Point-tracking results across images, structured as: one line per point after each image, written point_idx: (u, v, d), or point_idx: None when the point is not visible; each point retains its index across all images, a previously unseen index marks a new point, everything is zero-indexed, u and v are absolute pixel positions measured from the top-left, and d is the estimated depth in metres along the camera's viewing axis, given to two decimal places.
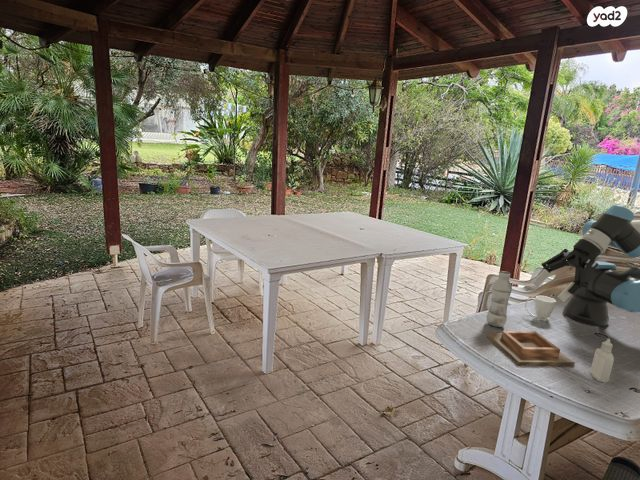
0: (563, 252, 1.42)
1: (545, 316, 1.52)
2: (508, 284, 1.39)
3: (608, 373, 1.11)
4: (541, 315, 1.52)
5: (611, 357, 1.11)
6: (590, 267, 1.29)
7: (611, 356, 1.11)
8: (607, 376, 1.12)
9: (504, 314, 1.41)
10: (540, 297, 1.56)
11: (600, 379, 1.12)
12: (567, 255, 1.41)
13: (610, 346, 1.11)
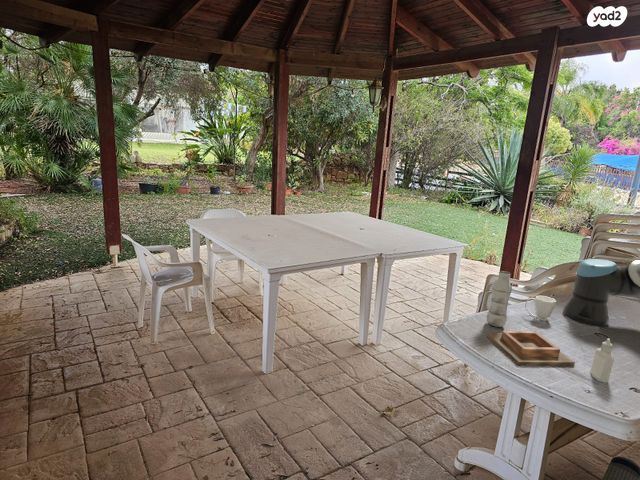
0: None
1: (545, 316, 1.52)
2: (508, 284, 1.39)
3: (608, 373, 1.11)
4: (541, 315, 1.52)
5: (611, 357, 1.11)
6: None
7: (611, 356, 1.11)
8: (607, 376, 1.12)
9: (504, 314, 1.41)
10: (540, 297, 1.56)
11: (600, 379, 1.12)
12: None
13: (610, 346, 1.11)
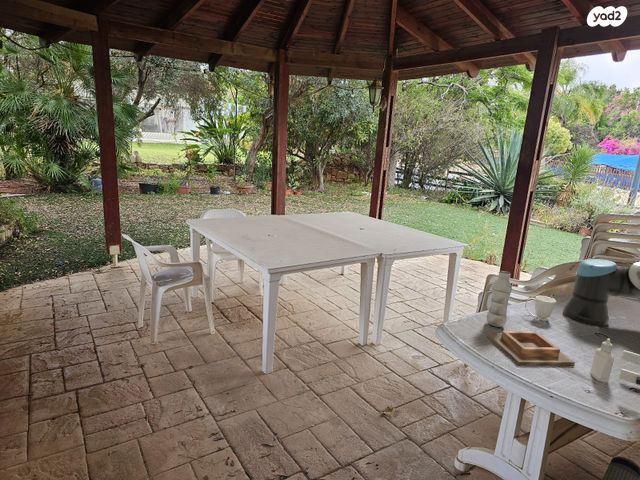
0: None
1: (545, 316, 1.52)
2: (508, 284, 1.39)
3: (608, 373, 1.11)
4: (541, 315, 1.52)
5: (611, 357, 1.11)
6: None
7: (611, 356, 1.11)
8: (607, 376, 1.12)
9: (504, 314, 1.41)
10: (540, 297, 1.56)
11: (600, 380, 1.12)
12: None
13: (610, 346, 1.11)
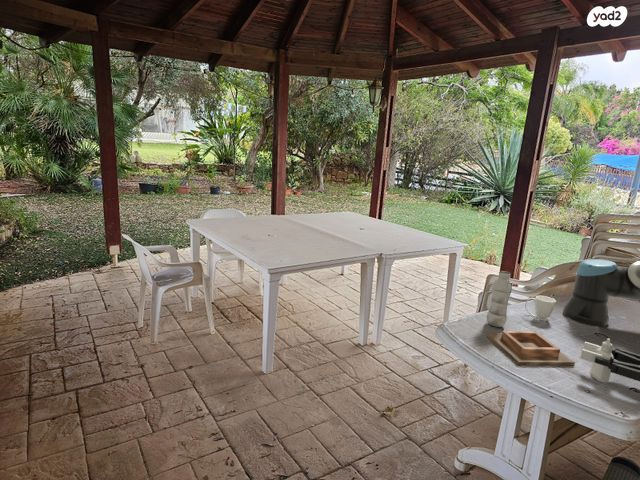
0: None
1: (545, 316, 1.52)
2: (508, 284, 1.39)
3: (608, 373, 1.11)
4: (541, 315, 1.52)
5: None
6: None
7: (611, 356, 1.11)
8: (607, 376, 1.12)
9: (504, 314, 1.41)
10: (540, 297, 1.56)
11: (600, 379, 1.12)
12: None
13: (610, 346, 1.11)
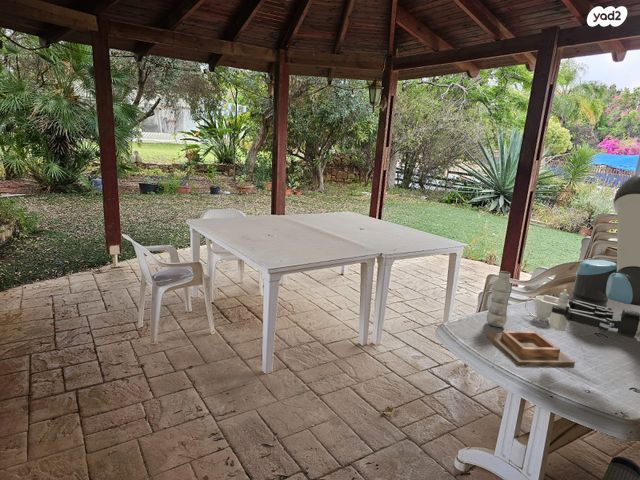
0: None
1: (545, 316, 1.52)
2: (508, 284, 1.39)
3: (565, 322, 1.16)
4: (541, 315, 1.52)
5: None
6: None
7: (567, 305, 1.16)
8: (564, 325, 1.17)
9: (504, 314, 1.41)
10: (540, 297, 1.56)
11: (558, 329, 1.17)
12: None
13: (567, 296, 1.16)
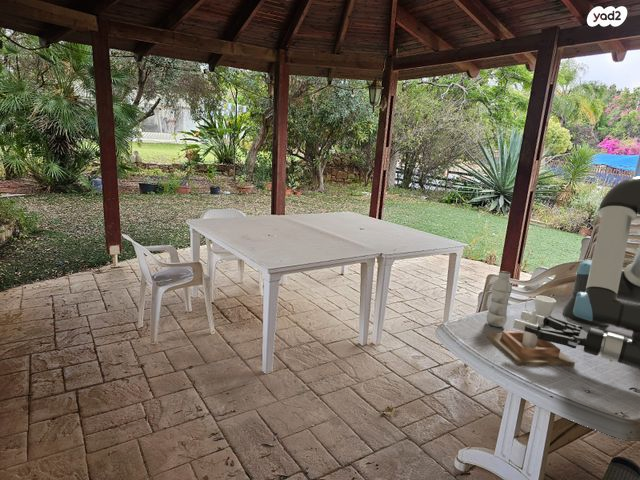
0: None
1: (545, 316, 1.52)
2: (508, 284, 1.39)
3: (535, 341, 1.24)
4: (541, 315, 1.52)
5: None
6: None
7: (537, 325, 1.24)
8: (535, 344, 1.24)
9: (504, 314, 1.41)
10: (540, 297, 1.56)
11: None
12: None
13: (536, 316, 1.25)
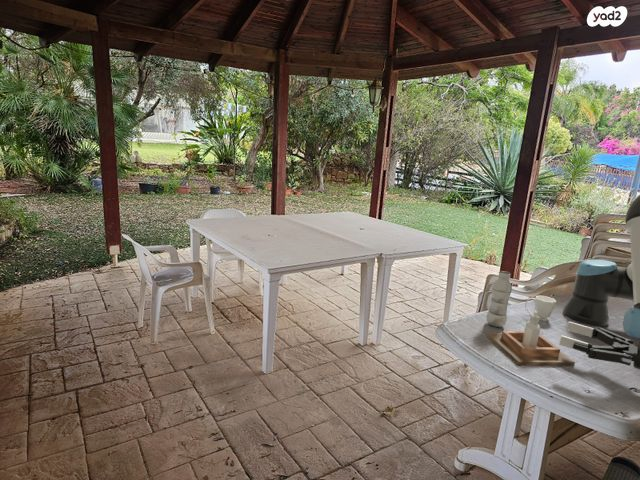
0: None
1: (545, 316, 1.52)
2: (508, 284, 1.39)
3: (535, 342, 1.24)
4: (541, 315, 1.52)
5: (537, 328, 1.23)
6: None
7: (537, 327, 1.24)
8: (534, 345, 1.24)
9: (504, 314, 1.41)
10: (540, 297, 1.56)
11: None
12: None
13: (537, 318, 1.24)
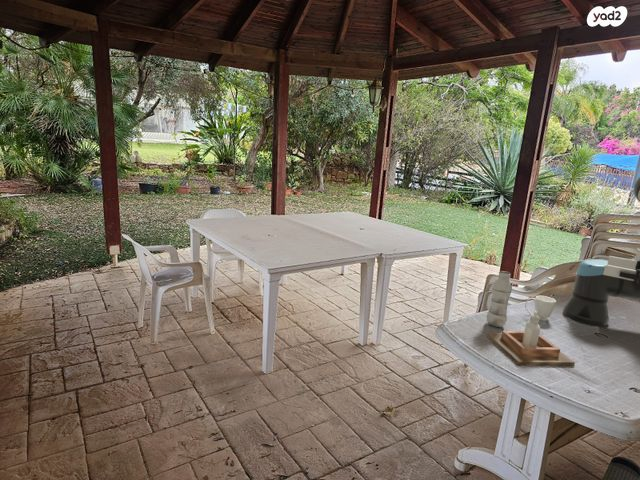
0: None
1: (545, 316, 1.52)
2: (508, 284, 1.39)
3: (535, 342, 1.24)
4: (541, 315, 1.52)
5: (537, 328, 1.23)
6: None
7: (537, 327, 1.24)
8: (534, 345, 1.24)
9: (504, 314, 1.41)
10: (540, 297, 1.56)
11: None
12: None
13: (537, 318, 1.24)
